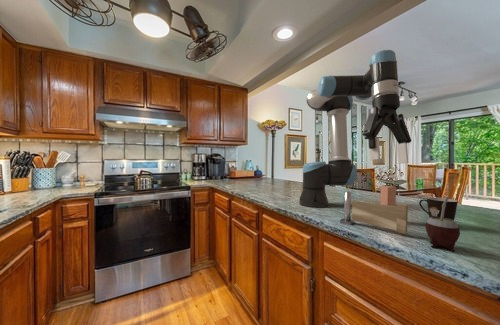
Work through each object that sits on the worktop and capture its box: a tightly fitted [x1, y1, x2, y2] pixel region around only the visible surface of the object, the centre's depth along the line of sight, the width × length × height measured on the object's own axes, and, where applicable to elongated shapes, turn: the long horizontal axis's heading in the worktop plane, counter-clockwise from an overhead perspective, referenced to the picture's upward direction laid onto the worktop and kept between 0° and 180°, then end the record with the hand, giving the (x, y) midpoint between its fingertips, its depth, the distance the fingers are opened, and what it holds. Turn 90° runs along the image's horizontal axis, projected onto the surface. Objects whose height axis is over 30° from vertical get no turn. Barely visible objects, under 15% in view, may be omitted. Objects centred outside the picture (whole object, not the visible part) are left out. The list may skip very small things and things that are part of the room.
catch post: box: [379, 185, 397, 207], centre depth 83 cm, size 4×4×14 cm
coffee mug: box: [418, 196, 458, 221], centre depth 80 cm, size 12×9×10 cm
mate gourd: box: [425, 197, 461, 253], centre depth 58 cm, size 8×8×15 cm
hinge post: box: [339, 191, 356, 226], centre depth 81 cm, size 4×4×12 cm
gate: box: [351, 199, 409, 235], centre depth 73 cm, size 2×17×9 cm, turn 42°
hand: (389, 161), depth 65 cm, fingers open, 13 cm apart
